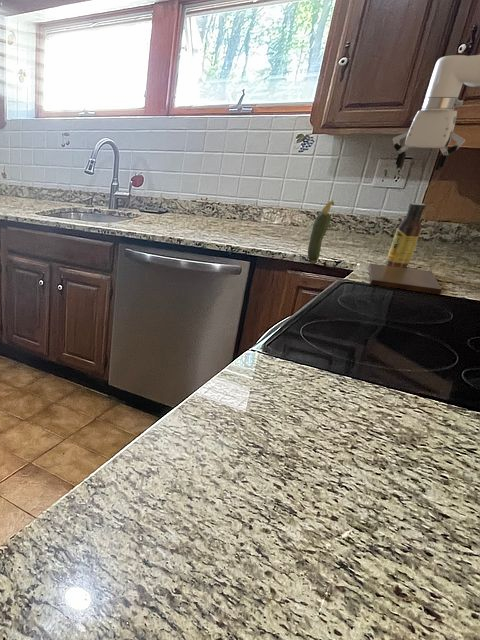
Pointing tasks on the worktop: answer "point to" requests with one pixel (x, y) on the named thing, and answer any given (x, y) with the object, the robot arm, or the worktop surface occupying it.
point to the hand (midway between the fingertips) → (418, 168)
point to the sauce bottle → (406, 237)
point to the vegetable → (319, 233)
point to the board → (404, 278)
